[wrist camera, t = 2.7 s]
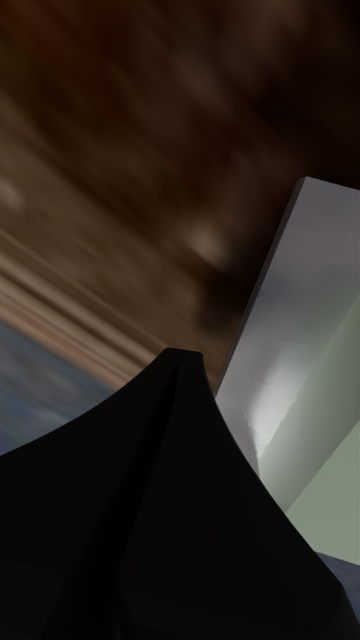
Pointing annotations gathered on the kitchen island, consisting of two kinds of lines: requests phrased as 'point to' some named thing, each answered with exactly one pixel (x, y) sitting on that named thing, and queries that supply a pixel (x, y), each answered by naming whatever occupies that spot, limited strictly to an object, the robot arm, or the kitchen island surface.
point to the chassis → (291, 311)
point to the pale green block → (322, 450)
